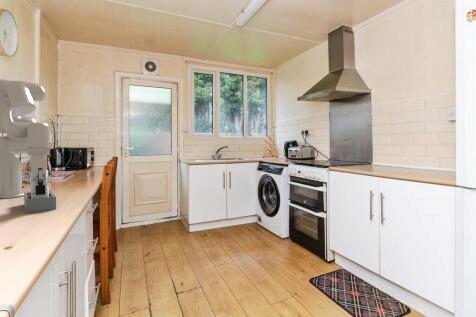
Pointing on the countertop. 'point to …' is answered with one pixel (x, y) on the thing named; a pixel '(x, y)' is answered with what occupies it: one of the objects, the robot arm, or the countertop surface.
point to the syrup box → (33, 187)
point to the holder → (39, 203)
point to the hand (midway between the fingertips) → (39, 192)
